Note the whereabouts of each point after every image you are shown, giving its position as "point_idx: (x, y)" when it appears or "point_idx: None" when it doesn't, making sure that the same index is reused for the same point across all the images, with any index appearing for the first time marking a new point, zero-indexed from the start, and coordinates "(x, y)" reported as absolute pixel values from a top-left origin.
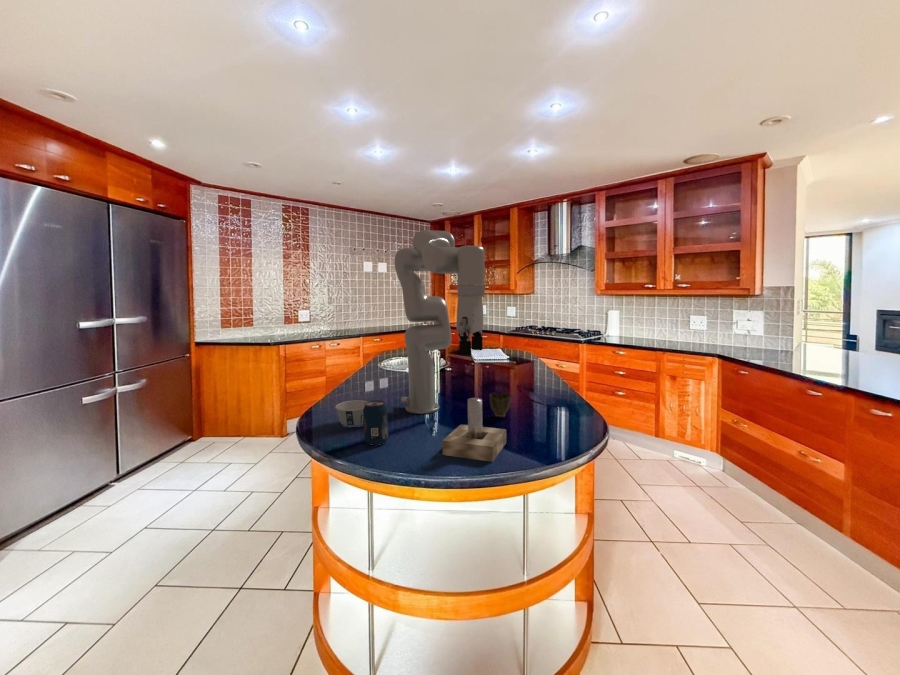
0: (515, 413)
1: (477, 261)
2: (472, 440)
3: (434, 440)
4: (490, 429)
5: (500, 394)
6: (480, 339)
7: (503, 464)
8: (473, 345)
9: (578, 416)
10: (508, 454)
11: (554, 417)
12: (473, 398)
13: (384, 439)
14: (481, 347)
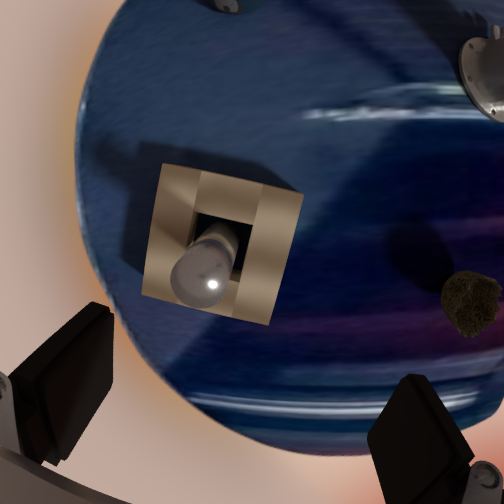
0: None
1: None
2: (172, 243)
3: (268, 123)
4: (263, 285)
5: (495, 304)
6: (388, 498)
7: (146, 302)
8: (409, 410)
9: None
10: (197, 313)
11: None
12: (215, 275)
13: (221, 10)
14: (371, 450)
